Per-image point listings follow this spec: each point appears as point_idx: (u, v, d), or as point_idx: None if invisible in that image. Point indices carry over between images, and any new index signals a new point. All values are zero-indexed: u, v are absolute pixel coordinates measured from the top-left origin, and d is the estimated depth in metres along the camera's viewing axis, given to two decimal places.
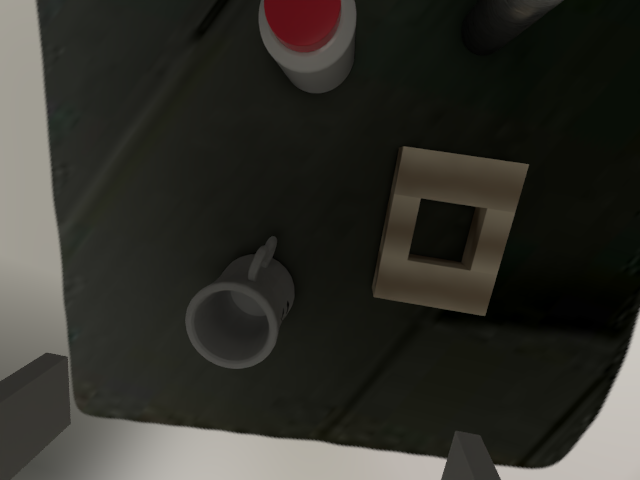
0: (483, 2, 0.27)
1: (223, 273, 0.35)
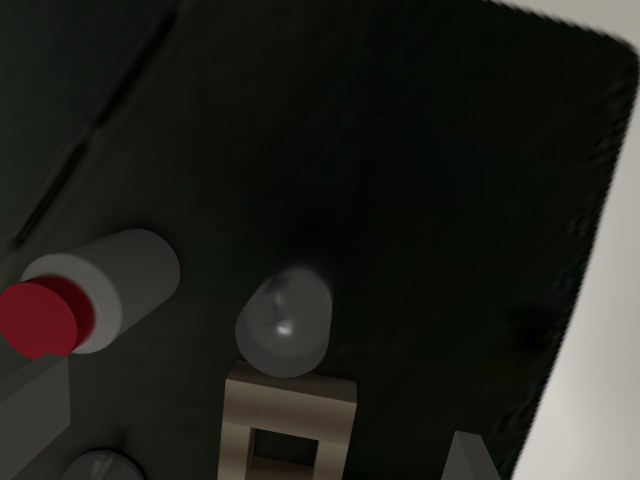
0: None
1: None
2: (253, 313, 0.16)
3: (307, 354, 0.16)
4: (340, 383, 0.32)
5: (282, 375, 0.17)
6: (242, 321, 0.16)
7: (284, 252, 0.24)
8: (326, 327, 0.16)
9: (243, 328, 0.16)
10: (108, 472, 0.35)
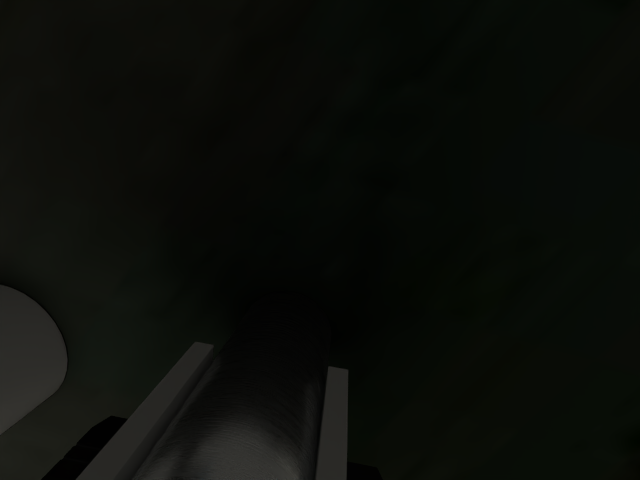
0: None
1: None
2: None
3: None
4: None
5: None
6: None
7: (216, 360, 0.12)
8: None
9: None
10: None
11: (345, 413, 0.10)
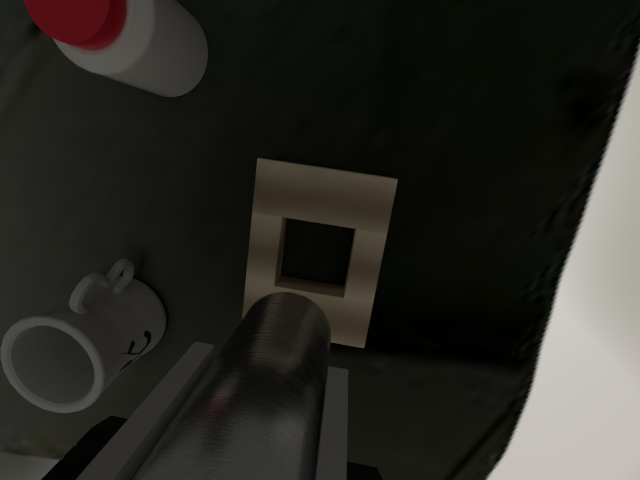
0: None
1: None
2: None
3: None
4: (377, 175, 0.30)
5: None
6: None
7: (216, 360, 0.12)
8: None
9: None
10: (128, 288, 0.33)
11: (345, 413, 0.10)
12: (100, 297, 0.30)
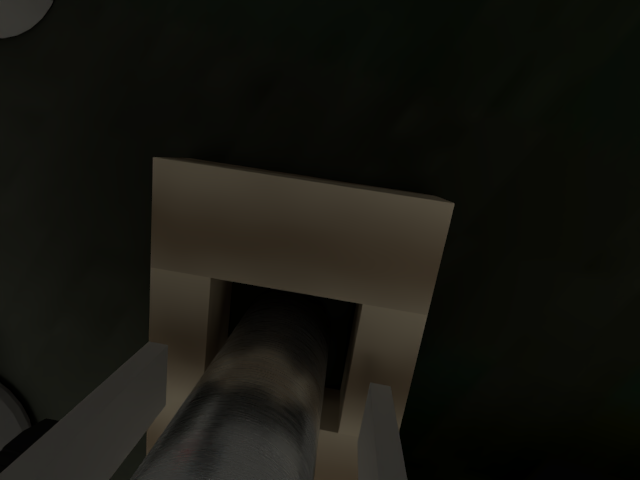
0: None
1: None
2: None
3: None
4: (404, 192, 0.15)
5: None
6: None
7: (222, 349, 0.12)
8: None
9: None
10: None
11: (397, 436, 0.10)
12: None
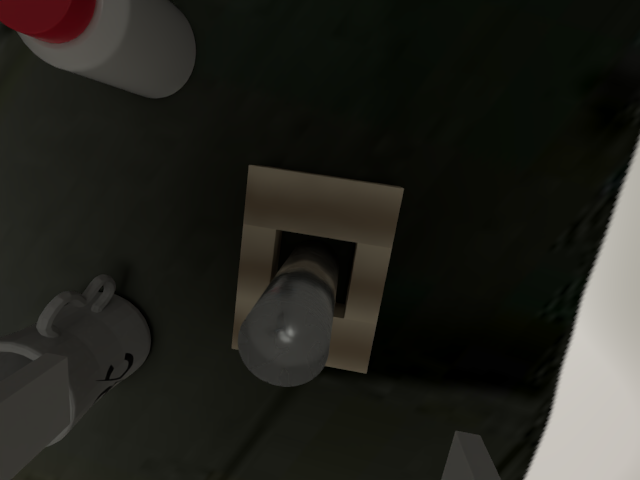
0: None
1: None
2: (255, 322, 0.16)
3: (308, 363, 0.16)
4: (380, 183, 0.27)
5: (283, 384, 0.17)
6: (244, 330, 0.16)
7: (286, 261, 0.25)
8: (327, 337, 0.16)
9: (245, 337, 0.16)
10: (108, 306, 0.30)
11: None
12: (75, 317, 0.28)
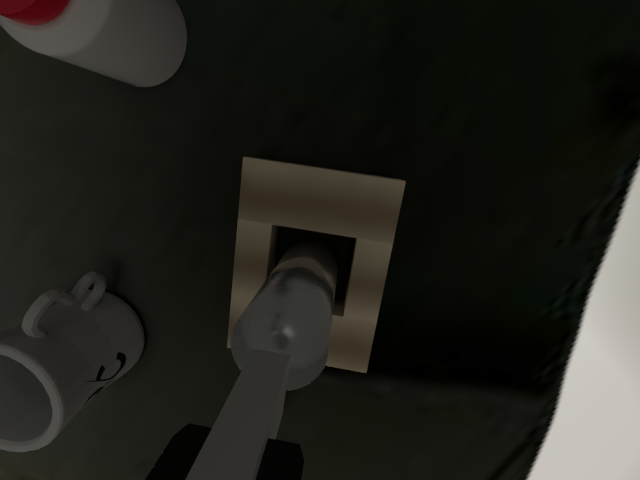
0: None
1: None
2: (249, 323, 0.15)
3: (306, 366, 0.15)
4: (381, 176, 0.26)
5: None
6: (238, 332, 0.15)
7: (282, 257, 0.24)
8: (326, 338, 0.15)
9: (239, 339, 0.15)
10: (99, 304, 0.29)
11: (276, 394, 0.11)
12: (65, 316, 0.27)
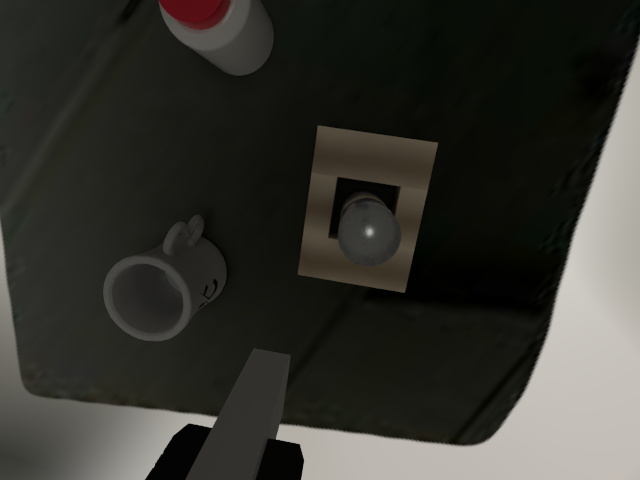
0: None
1: None
2: (351, 220, 0.24)
3: (386, 248, 0.24)
4: None
5: (368, 264, 0.25)
6: (343, 226, 0.24)
7: (348, 199, 0.32)
8: (400, 229, 0.24)
9: (343, 231, 0.24)
10: (198, 243, 0.38)
11: (276, 394, 0.11)
12: (179, 247, 0.35)
